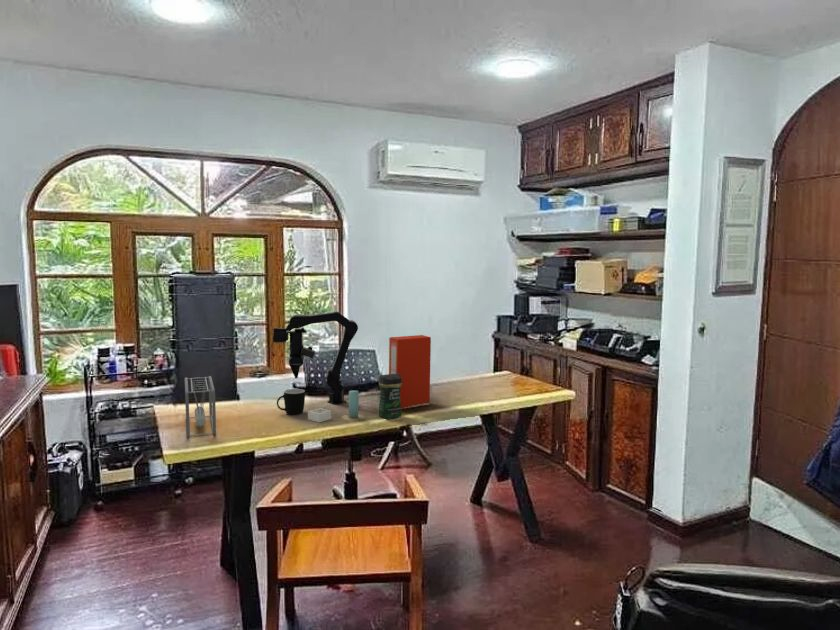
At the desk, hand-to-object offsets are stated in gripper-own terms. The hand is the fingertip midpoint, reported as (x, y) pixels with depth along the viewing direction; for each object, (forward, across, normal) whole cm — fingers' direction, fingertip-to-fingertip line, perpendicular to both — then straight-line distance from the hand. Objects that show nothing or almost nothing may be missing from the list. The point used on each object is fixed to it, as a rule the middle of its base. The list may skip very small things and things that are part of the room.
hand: (296, 376), depth 269 cm
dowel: (+12, -28, -24) cm, 39 cm away
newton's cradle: (+14, -30, +38) cm, 50 cm away
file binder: (+13, -12, -51) cm, 54 cm away
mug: (+13, -17, +2) cm, 22 cm away
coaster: (+13, -28, -24) cm, 39 cm away
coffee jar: (+13, -28, -40) cm, 50 cm away
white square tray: (+13, -28, -10) cm, 33 cm away
